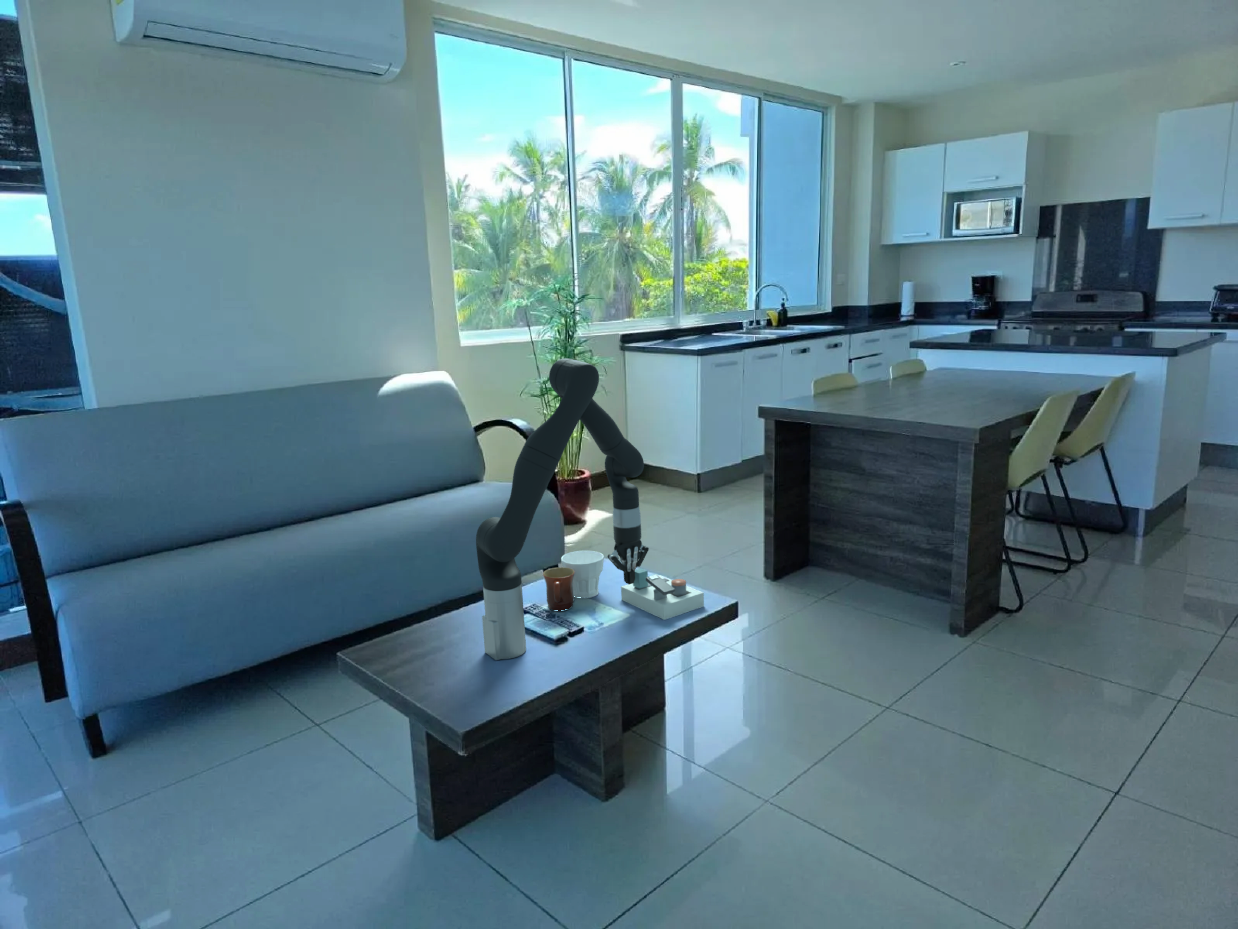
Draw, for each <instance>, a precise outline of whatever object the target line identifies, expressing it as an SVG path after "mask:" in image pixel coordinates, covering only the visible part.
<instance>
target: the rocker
mask: <svg viewBox="0 0 1238 929" xmlns="http://www.w3.org/2000/svg"><path fill="white" fill-rule="evenodd" d="M658 575H659V574H651V575H649V576H648V577H646V581H647V582H648V583H649V584H650V585H652V586H653V587H654V588H655V589H657V590H658V591H659V592H660V593H661V594H663V595H667V594H670V593H673V592H675V589H674V588H673V587H672V586H671V585H669V584H668V583H667V582H665V581H664V580H663V579H662V578H660V577H659V576H658Z"/></svg>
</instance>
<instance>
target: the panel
mask: <svg viewBox="0 0 1238 929" xmlns="http://www.w3.org/2000/svg"><path fill="white" fill-rule="evenodd" d="M657 575H658V576H659V577H660V578H662V579H663V580H664V581H665V582H667V583H668V584H669V585H671V581H672V580H673V579H670V578H668V577H666V576H663V575H660V574H657ZM704 593H705V592H704V591H701V590H698V589H695V588H694V587H691V586H688V585H686V595H684V596H681V597H676V596H674V595H672V593H670V594H667V595H663V594H661V593H660V592H659V591H658V590H657V589H655V588H654V587H653V586H652V585H650V584H649V583H648V586H647V587H644V588H641V589H639V588H637V587H634V586H633V583H632V584H625V585H622V586H620V594H621V601H623V602H625V603H627V604H630V605H632V606H634V607H635V608H638V609H640V610H642V611H643V612H644V611H645V612H646V613H649V614H651V615H653V616H655V617H658V618H660V619H662V620H664V621H665V620H668V619H671V618H674V617H677V616H680V615H683V614H686V613H688V612H691V611H694V610H697V609H700V608H703V607H705V597H704V596H705V594H704Z"/></svg>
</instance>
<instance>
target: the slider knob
mask: <svg viewBox="0 0 1238 929" xmlns="http://www.w3.org/2000/svg"><path fill="white" fill-rule="evenodd" d="M648 572H649V571H648V570H646V569H644V568H641V567H639V568H636V569H635V581H634V583H633V586H634V587H637V588H639V589H641V588H644V587H647V586H648V582H647V581H646V577H649V576H648V575H649V574H648Z"/></svg>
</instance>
